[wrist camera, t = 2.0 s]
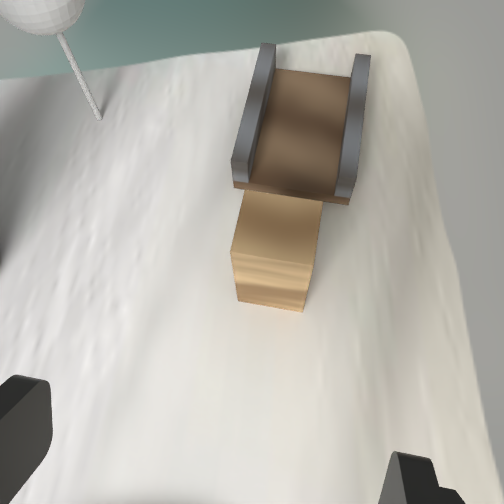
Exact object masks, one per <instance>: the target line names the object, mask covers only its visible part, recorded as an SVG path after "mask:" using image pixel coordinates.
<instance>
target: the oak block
mask: <svg viewBox="0 0 504 504" xmlns="http://www.w3.org/2000/svg"><path fill="white" fill-rule="evenodd" d="M322 206H323V201H316V200H310V199H303V198H296V197H290V196H283V195H276V194H270V193H263V192H256V191H250V190H245V191H244V195H243V200H242V204H241V208H240V212H239V217H238V221H237V225H236V229H235V233H234V238H233V242H232V246H231V250H230V254H231V260H232V266H233V273H234V279H235V285H236V291H237V297H238V301H241V302H247V303H252V304H258V305H264V306H269V307H275V308H281V309H286V310H292V311H297V312H303V308H304V304H305V299H306V295H307V291H308V287H309V283H310V279H311V274H312V270H313V266H314V259H315V253H316V246H317V239H318V233H319V226H320V219H321V213H322Z"/></svg>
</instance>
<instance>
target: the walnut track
mask: <svg viewBox="0 0 504 504" xmlns="http://www.w3.org/2000/svg"><path fill="white" fill-rule="evenodd" d="M370 59H371V55H364V54H356V55H355V60H354V64H353V69H352V73H351V78H349V77H341V76H333V75H325V74H316V73H308V72H300V71H292V70H283V69H275V65H276V44H268V43H261V47H260V51H259V55H258V58H257V62H256V66H255V70H254V74H253V78H252V81H251V85H250V89H249V93H248V97H247V101H246V104H245V108H244V112H243V116H242V120H241V124H240V127H239V131H238V135H237V139H236V143H235V147H234V150H233V154H232V158H231V167H232V175H233V184H234V188H238V189H245V190H251V191H258V192H265V193H271V194H278V195H285V196H291V197H298V198H305V199H311V200H318V201H325V202H331V203H338V204H345V205H348V204H349V201H350V198H351V194H352V191H353V188H354V185H355V182H356V178H357V170H358V161H359V153H360V144H361V136H362V127H363V119H364V110H365V101H366V93H367V84H368V76H369V67H370Z"/></svg>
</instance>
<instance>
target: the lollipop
mask: <svg viewBox="0 0 504 504" xmlns="http://www.w3.org/2000/svg"><path fill="white" fill-rule="evenodd" d="M84 3H85V0H0V15H1V16H2V17H3V18H4V19H5V20H6V21H7V22H8V23H10V24H12V25H14V26H15V27H16V28H18V29H20V30H22V31H25V32H28V33H31V34H34V35H54V34H56V35H57V38H58V39H59V42H60V44H61V46H62V48H63V50H64V52H65V54H66V56H67V58H68V60H69V62H70V64H71V67H72V69H73V71H74V73H75V75H76V77H77V79H78V81H79V83H80V85H81V87H82V89H83V91H84V93H85V95H86V97H87V100H88V102H89V104H90V106H91V108H92V110H93V112H94V114H95V116H96V118H97V120H101V119H102V116H101V114H100V112H99V110H98V107H97V105H96V103H95V101H94V99H93V97H92V95H91V92H90V90H89V88H88V86H87V84H86V82H85V80H84V77H83V75H82V73H81V71H80V69H79V67H78V65H77V63H76V61H75V58H74V56H73V54H72V52H71V50H70V47H69V45H68V43H67V41H66V39H65V37H64V35H63V33H62V32H63V31H65V30H67V29H68V28H69V27H70V26H72V25H73V24H74V23H75V22H76V21H77V20H78V18H79V16H80V14H81V12H82V10H83V7H84Z"/></svg>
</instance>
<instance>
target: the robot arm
mask: <svg viewBox="0 0 504 504" xmlns="http://www.w3.org/2000/svg"><path fill="white" fill-rule="evenodd" d="M52 435H53V427H52V407H51V389H50V384H49V382H48V381H46V380H41V379H36V378H31V377H26V376H21V375H13V376H11V377H10V378H9V379H7V380H6V381H5V382H4V383H3V384H2V385H1V386H0V504H9V503H10V501H11V500H12V499H13V498H14V496H15V495H16V494H17V493H18V491H19V490H20V489H21V487H22V486H23V485H24V484H25V482H26V481H27V480H28V479H29V477H30V476H31V475H32V474H33V472H34V471H35V470H36V468H37V467H38V466H39V465H40V463H41V462H42V461H43V459H44V458H45V456H46V454H47V452H48V450H49V447H50V445H51V441H52ZM378 504H465V502H464V501H463V500H462V498H461V497H460V496H459V494H458V493H457V492H456V490H453V489H448V488H443V487H439V485H438V481H437V477H436V474H435V470H434V467H433V463H432V461H431V460H430V459H429V458H426V457H421V456H416V455H411V454H406V453H401V452H396V451H394V452H393V453H392V455H391V458H390V461H389V465H388V469H387V473H386V477H385V480H384V484H383V488H382V492H381V495H380V499H379V503H378Z"/></svg>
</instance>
